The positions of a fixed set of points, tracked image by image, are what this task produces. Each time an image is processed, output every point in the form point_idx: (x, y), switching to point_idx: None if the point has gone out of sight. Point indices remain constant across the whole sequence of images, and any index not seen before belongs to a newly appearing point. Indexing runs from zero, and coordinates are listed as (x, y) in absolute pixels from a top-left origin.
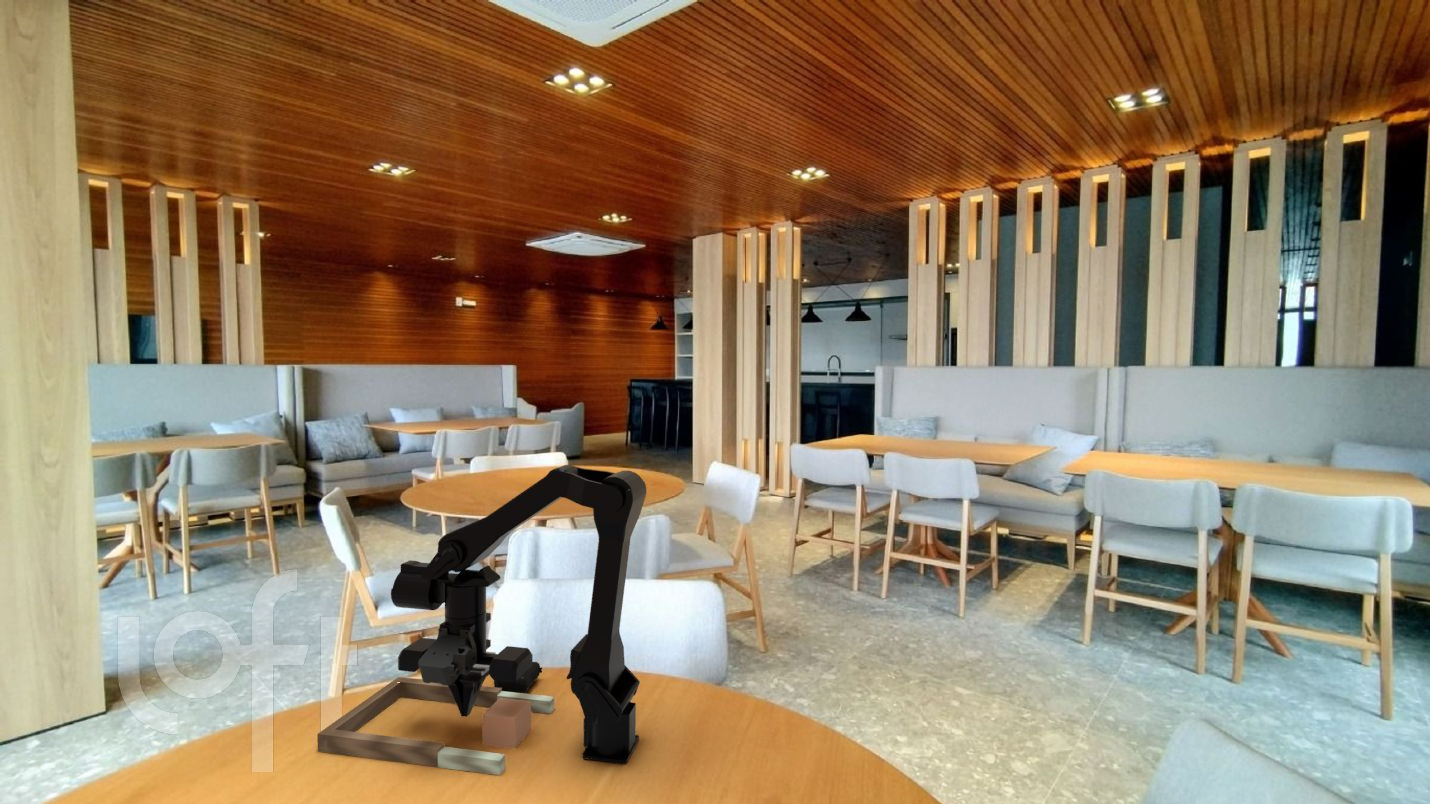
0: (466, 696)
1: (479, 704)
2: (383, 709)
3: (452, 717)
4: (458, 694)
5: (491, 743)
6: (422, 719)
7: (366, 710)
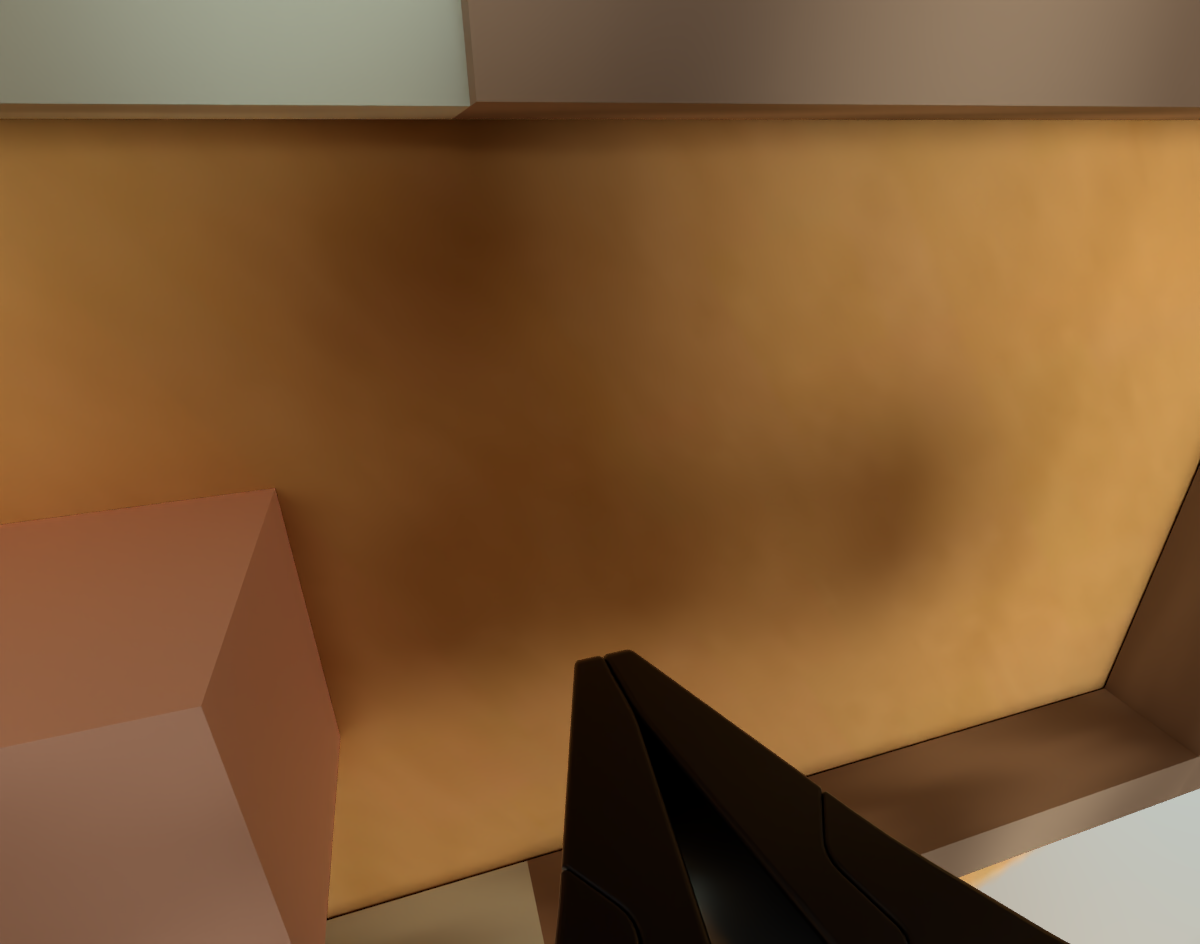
0: (628, 875)
1: None
2: (1160, 567)
3: (754, 670)
4: (769, 850)
5: (161, 512)
6: (925, 580)
7: None
